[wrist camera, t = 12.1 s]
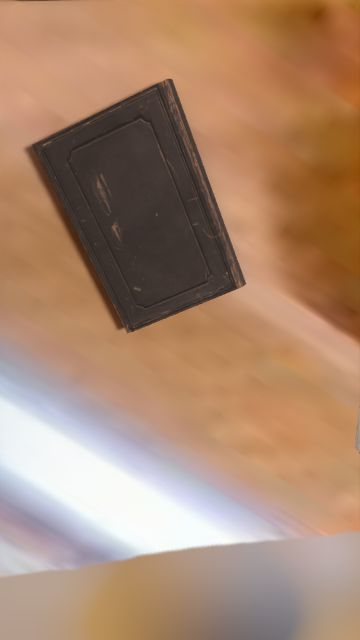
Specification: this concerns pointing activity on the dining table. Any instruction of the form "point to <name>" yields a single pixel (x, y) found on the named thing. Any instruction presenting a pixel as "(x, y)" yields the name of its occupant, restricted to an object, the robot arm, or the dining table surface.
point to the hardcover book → (143, 206)
